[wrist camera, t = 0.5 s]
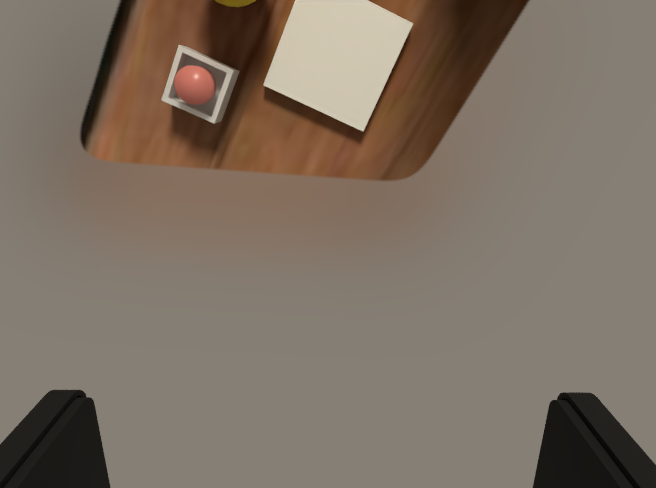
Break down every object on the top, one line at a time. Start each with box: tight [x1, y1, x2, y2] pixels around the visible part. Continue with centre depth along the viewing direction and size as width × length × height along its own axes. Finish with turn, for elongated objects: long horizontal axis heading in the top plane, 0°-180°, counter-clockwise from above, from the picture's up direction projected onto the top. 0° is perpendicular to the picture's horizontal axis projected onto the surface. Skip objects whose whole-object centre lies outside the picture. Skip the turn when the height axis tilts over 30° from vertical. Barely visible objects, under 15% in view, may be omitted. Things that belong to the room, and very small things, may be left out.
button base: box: [162, 45, 240, 124], centre depth 37 cm, size 4×4×3 cm
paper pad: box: [263, 0, 413, 131], centre depth 37 cm, size 9×9×1 cm
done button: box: [174, 65, 216, 105], centre depth 35 cm, size 3×3×2 cm
